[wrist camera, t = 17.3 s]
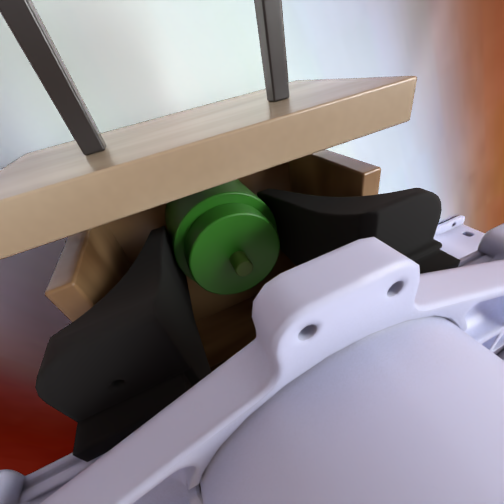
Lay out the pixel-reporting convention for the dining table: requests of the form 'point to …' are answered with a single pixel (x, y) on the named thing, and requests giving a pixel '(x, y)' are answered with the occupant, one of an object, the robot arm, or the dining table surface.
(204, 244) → the green lidded jar
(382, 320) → the robot arm
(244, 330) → the drawer
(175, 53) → the dining table surface
